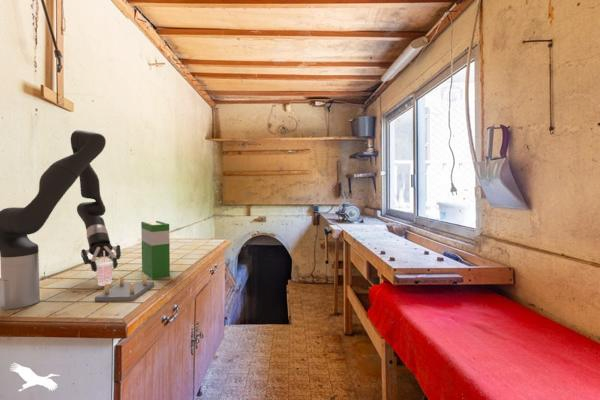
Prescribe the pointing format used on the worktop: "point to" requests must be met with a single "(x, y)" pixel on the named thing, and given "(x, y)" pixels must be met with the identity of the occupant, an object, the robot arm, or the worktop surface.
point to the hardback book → (155, 249)
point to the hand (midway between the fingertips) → (105, 268)
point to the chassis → (124, 290)
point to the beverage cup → (104, 272)
